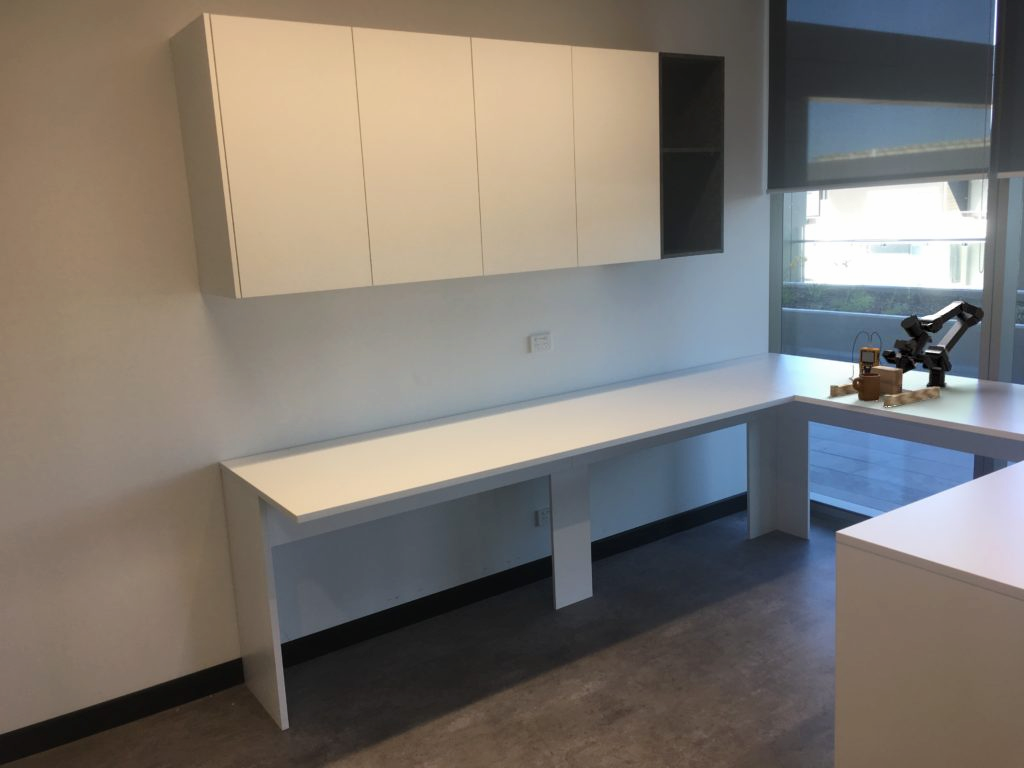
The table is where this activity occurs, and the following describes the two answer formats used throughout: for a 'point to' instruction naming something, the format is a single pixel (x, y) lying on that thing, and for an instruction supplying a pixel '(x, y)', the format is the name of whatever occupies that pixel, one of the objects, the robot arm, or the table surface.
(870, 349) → the multimeter
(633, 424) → the table surface
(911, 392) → the channel
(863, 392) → the mug
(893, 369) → the wooden block
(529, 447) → the table surface
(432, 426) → the table surface
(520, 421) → the table surface
